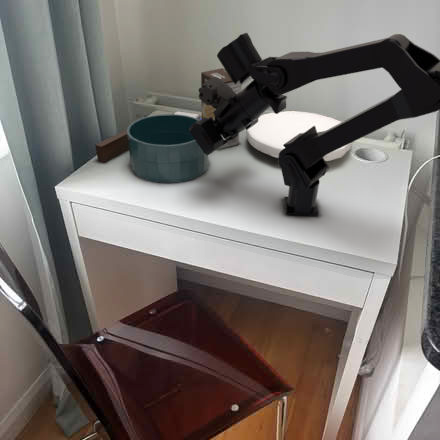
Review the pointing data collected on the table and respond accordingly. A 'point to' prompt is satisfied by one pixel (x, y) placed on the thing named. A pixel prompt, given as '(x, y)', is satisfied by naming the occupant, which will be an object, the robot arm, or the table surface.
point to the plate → (289, 131)
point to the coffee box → (208, 109)
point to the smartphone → (187, 114)
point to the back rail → (112, 147)
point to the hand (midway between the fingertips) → (202, 145)
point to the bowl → (165, 149)
